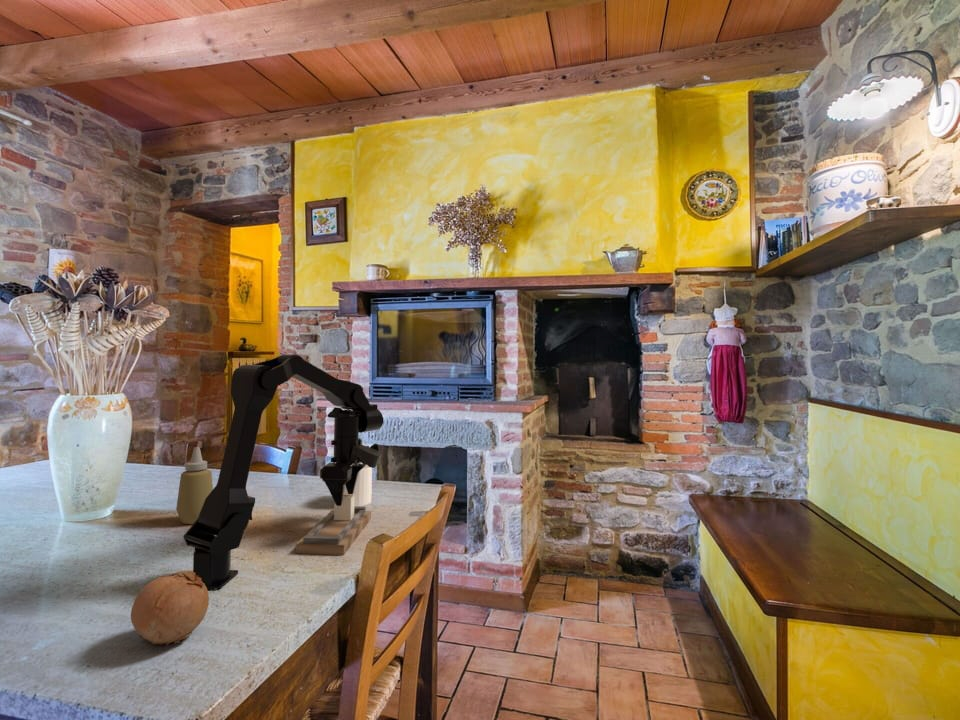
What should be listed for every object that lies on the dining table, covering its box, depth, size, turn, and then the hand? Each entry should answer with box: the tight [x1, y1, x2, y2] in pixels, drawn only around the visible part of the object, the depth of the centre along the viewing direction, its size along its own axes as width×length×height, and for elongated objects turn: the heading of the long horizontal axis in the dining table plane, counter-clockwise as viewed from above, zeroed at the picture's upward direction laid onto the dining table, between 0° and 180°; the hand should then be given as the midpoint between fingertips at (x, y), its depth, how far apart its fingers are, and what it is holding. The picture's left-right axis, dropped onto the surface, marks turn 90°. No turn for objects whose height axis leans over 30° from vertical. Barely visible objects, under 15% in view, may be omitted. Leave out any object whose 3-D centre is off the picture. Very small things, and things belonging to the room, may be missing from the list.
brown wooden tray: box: [295, 506, 372, 556], centre depth 110 cm, size 22×10×3 cm, turn 179°
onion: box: [130, 570, 210, 646], centre depth 69 cm, size 10×9×10 cm
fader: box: [333, 494, 355, 521], centre depth 114 cm, size 3×4×6 cm
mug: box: [344, 463, 373, 507], centre depth 135 cm, size 13×10×10 cm
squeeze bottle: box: [175, 446, 214, 525], centre depth 116 cm, size 8×8×18 cm
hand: (345, 499), depth 115 cm, fingers open, 9 cm apart
